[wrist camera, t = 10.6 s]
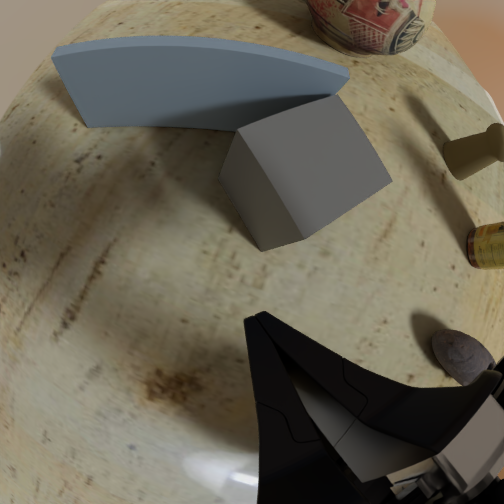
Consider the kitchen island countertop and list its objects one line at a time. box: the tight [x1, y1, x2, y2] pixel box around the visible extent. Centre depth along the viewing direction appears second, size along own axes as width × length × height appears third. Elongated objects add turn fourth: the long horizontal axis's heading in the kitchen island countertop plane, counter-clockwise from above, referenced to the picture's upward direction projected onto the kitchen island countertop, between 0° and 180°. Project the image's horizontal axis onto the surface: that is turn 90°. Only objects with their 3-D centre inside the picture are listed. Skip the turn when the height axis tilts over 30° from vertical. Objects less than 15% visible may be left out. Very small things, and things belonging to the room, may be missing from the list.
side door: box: [51, 36, 350, 132], centre depth 17 cm, size 1×19×10 cm, turn 89°
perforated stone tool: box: [432, 329, 496, 386], centre depth 24 cm, size 15×5×7 cm, turn 53°
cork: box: [443, 123, 504, 180], centre depth 26 cm, size 6×6×11 cm
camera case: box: [218, 94, 393, 252], centre depth 19 cm, size 7×8×8 cm
